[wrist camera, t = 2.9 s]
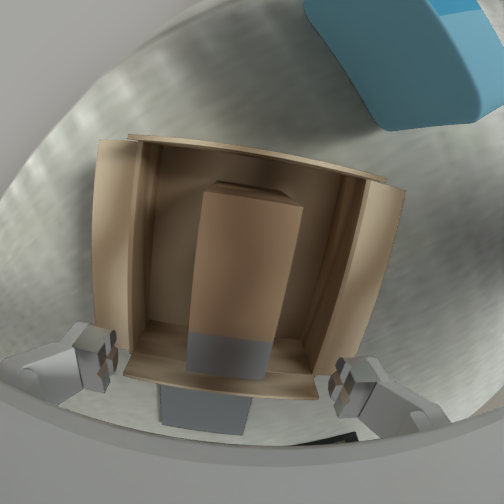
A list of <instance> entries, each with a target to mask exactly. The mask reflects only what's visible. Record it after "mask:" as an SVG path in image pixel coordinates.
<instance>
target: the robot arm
mask: <svg viewBox="0 0 504 504" xmlns="http://www.w3.org/2000/svg"><path fill="white" fill-rule="evenodd" d="M116 341H117V336H116V331H115V330H114V329H109V328H105V327H102V326H98V325H94V324H90V323H86V322H82V321H77V322H76V323H75V324H74V325H73V326H72V327H71V328H70V330H69V331H68V332H67V333H66V334H65V335H64V337H63V338H62V339H61V340H60V341H59V343H57V342H53V343H50V344H47V345H44V346H41V347H38V348H35V349H32V350H29V351H26V352H23V353H21V354H18V355H15V356H12V357H8V358H5V359H4V361H3V362H2V363H1V364H0V504H504V405H503V406H500V407H498V408H495V409H493V410H490V411H487V412H484V413H482V414H479V415H476V416H473V417H470V418H467V419H463V420H460V421H457V422H453V423H451V422H450V420H449V419H448V417H447V416H446V415H445V413H444V412H443V410H442V409H441V408H440V406H438V405H437V404H435V403H433V402H431V401H429V400H428V399H426V398H424V397H422V396H420V395H419V394H417V393H415V392H413V391H412V390H410V389H408V388H406V387H405V386H403V385H401V384H399V383H398V382H396V381H392V380H391V379H390V377H389V376H388V374H387V373H386V371H385V370H384V368H383V367H382V365H381V364H380V362H379V361H378V359H377V358H375V357H339V359H338V360H337V362H336V364H335V367H336V370H337V371H335V372H334V373H333V374H332V375H331V377H330V380H329V385H328V391H329V395H330V398H331V399H333V400H334V401H335V404H334V409H335V411H336V414H337V416H338V418H356V417H358V419H359V420H361V421H362V422H363V423H364V424H365V425H366V426H367V427H368V428H370V429H371V430H372V431H373V432H374V433H375V434H376V435H377V436H379V437H380V438H381V439H374V440H367V441H359V442H351V443H341V444H328V445H309V446H258V445H239V444H226V443H215V442H206V441H198V440H190V439H183V438H177V437H171V436H165V435H160V434H155V433H150V432H145V431H140V430H136V429H132V428H127V427H123V426H119V425H116V424H112V423H108V422H105V421H101V420H98V419H94V418H91V417H88V416H85V415H82V414H79V413H76V412H73V411H70V410H67V409H64V408H62V407H59V406H57V405H59V404H60V403H62V402H63V401H65V400H67V399H68V398H70V397H71V396H73V395H75V394H76V393H78V392H79V391H81V390H82V389H83V388H85V389H89V390H92V391H96V392H100V393H105V391H106V389H107V387H108V385H109V383H110V378H109V376H110V375H112V374H114V372H115V370H116V368H117V363H118V349H117V348H116V347H115V345H114V344H115V342H116Z"/></svg>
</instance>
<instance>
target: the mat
mask: <svg viewBox="0 0 504 504" xmlns="http://www.w3.org/2000/svg"><path fill="white" fill-rule="evenodd" d="M160 388H161V416H162V425H167V426H172V427H178V428H184V429H190V430H197V431H204V432H212V433H220V434H230V435H241V436H242V435H243V431H244V428H245V424H246V420H247V416H248V412H249V408H250V405H251V401H252V397H247V396H236V395H227V394H219V393H211V392H204V391H197V390H191V389H185V388H179V387H173V386H168V385H162V384H160Z"/></svg>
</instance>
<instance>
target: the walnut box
mask: <svg viewBox="0 0 504 504" xmlns="http://www.w3.org/2000/svg"><path fill="white" fill-rule="evenodd" d="M303 208H304V207H302V206H301V205H300V204H298V203H297V202H296V201H294V200H293V199H291V198H290V197H289V196H287V195H286V194H285V193H283V192H282V191H281V190H276V189H270V188H264V187H258V186H252V185H246V184H239V183H233V182H226V181H219V180H217V181H216V182H215V183H213V184H212V185H211V186H210V187H209V188H207V189H206V190H205V191H204V194H203V201H202V208H201V216H200V223H199V231H198V239H197V248H196V256H195V265H194V275H193V285H192V295H191V306H190V317H189V330H188V343H187V358H186V371H189V372H196V373H202V374H209V375H216V376H224V377H233V378H242V379H252V380H264V377H265V373H266V369H267V365H268V361H269V357H270V353H271V349H272V345H273V341H274V337H275V333H276V329H277V325H278V321H279V317H280V313H281V309H282V304H283V300H284V296H285V291H286V287H287V283H288V278H289V274H290V269H291V265H292V260H293V256H294V251H295V246H296V242H297V237H298V232H299V227H300V223H301V218H302V213H303Z"/></svg>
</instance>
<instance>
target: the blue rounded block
mask: <svg viewBox="0 0 504 504" xmlns="http://www.w3.org/2000/svg"><path fill="white" fill-rule="evenodd" d="M303 6H304V11H305V14H306V16H307V18H308V19H309V21H310V22H311V24H312V25H313V26H314V28H315V29H316V30H317V32H318V33H319V34H320V36H321V37H322V38H323V40H324V41H325V43H326V44H327V45H328V47H329V48H330V50H331V51H332V52H333V54H334V55H335V57H336V58H337V60H338V61H339V63H340V64H341V66H342V67H343V69H344V70H345V72H346V73H347V75H348V77H349V78H350V80H351V81H352V83H353V85H354V86H355V88H356V90H357V91H358V93H359V95H360V96H361V98H362V100H363V101H364V103H365V105H366V107H367V108H368V110H369V112H370V114H371V116H372V117H373V119H374V120H375V121H376V123H377V124H378V125H379V126H380V127H381V128H383V129H384V130H386V131H398V130H406V129H414V128H423V127H432V126H443V125H455V124H469V123H474V122H476V121H478V120H479V119H481V118H482V117H484V116H486V115H487V114H489V113H491V112H492V111H494V110H496V109H497V108H499V107H501V106H502V105H504V47H503V45H502V43H501V41H500V40H499V38H498V36H497V34H496V32H495V30H494V29H493V27H492V25H491V24H490V22H489V20H488V18H487V17H486V15H485V14H484V12H483V10H482V9H481V7H480V6H479V4H478V3H477V1H476V0H304V3H303Z"/></svg>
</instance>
